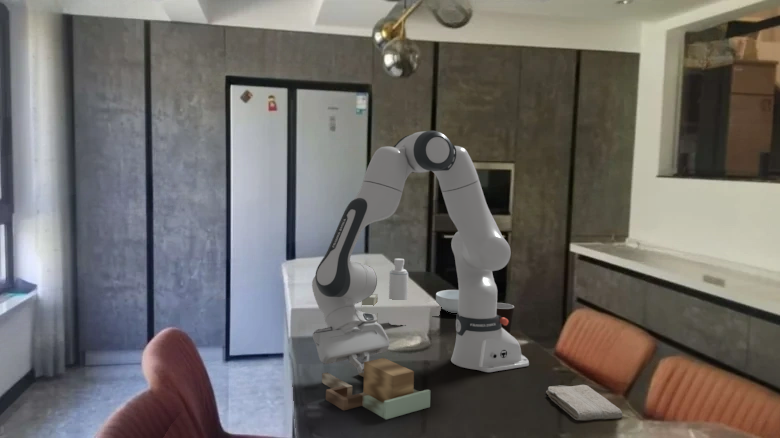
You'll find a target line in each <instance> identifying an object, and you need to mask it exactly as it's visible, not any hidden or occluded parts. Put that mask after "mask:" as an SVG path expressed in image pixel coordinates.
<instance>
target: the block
mask: <svg viewBox="0 0 780 438" xmlns="http://www.w3.org/2000/svg"><path fill="white" fill-rule="evenodd" d="M363 363H364V377H363V392H362V393H366V394H368V395H370V396H372V397H373V398H375V399H377V400H379V401H381V402H383V403H384V401H385V400H389V399H393V398H397V397H401V396H405V395H408V394H412V393H413V391H414V389H415V388H414V387H415V386H414V385H415V383H414V382H415V371H414V370H412V369H410V368H407V367H406V366H403V365H401V364H399V363H396V362H394V361H391V360H389V359H387V358H385V357H382V358H377V359H373V360H369V361H367V362H364V361H363Z"/></svg>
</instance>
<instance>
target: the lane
mask: <svg viewBox="0 0 780 438" xmlns="http://www.w3.org/2000/svg"><path fill="white" fill-rule="evenodd" d="M321 375H322V376H321V378H322V379H321V383H322V384H323V385H325V386H327V387H328V389H326V390H325V401H327V402H329V403H330V404H332V405H334V406H336V407H337V408H338V409H340V410H341V411H348V410H352V409H355V408H359V407H363V408H364V409H366V410H369V411H370V412H372V413H374V414H376V415H377V416H379V417H381V418H383V415H384V403H383V402H381V401H379V400H377V399H375V398H373V397H372V396H370V395H368V394H366V393H363V392H361V393H355V394H353V385H351V384H349V383H348V382H346V381H344V380H342V379H341V378H339V377H337V376H334V375H332V374H331V373H329V372H323V373H322V374H321ZM358 375H359V376H360V377H363V378H364V372H363V373H358ZM416 392H420V391H419V390H417V389H415V388H414V391H413V393H416ZM383 419H384V418H383Z"/></svg>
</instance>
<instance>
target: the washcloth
mask: <svg viewBox="0 0 780 438" xmlns="http://www.w3.org/2000/svg"><path fill="white" fill-rule="evenodd" d="M545 393H546V395H548V396H547V397H548V398H549V399H550V400H551V401H552V402H553V403H554V404H556V405H557V406H559V408H560V409H562V410H563V411H564V412H566V413H567V414H568V415H569V416H570V417H571V418H573V419H574V420H576V421H593V420H611V419H620V418H621V419H622V417H624V415H623V411H622V410H621V409H620V408H619V407H617V406H616V405H615V404H613V402H611V401H610V400H608V398H606V397H605V396H603V395H601V393H598V392H597V391H596V390H594V389H593V388H591V387H590V386H589V385H586V384H579V385H578V384H577V385H573V386H569V385H560V384H559V385H552V386H548V387H547V390H546V391H545Z"/></svg>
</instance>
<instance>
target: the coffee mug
mask: <svg viewBox="0 0 780 438" xmlns="http://www.w3.org/2000/svg"><path fill="white" fill-rule="evenodd" d="M514 310H515V306H514V305H513V304H510V303H503V302H497V315H498V316H500V317H504V318H506V319H508V320H509V322H508V325H503V324H501V326H502V328H503V329H504V330H506V331H507V332H508V333H509V334H510V335H511V329H512V323H513V317H514V312H515V311H514Z"/></svg>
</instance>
